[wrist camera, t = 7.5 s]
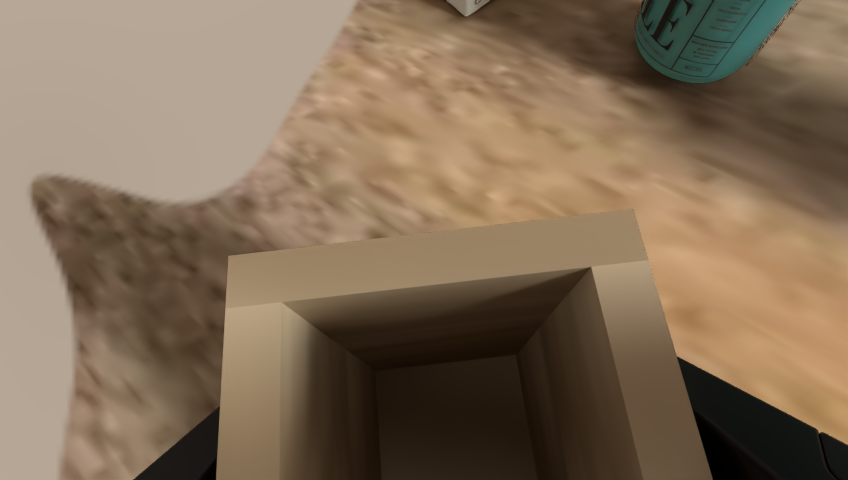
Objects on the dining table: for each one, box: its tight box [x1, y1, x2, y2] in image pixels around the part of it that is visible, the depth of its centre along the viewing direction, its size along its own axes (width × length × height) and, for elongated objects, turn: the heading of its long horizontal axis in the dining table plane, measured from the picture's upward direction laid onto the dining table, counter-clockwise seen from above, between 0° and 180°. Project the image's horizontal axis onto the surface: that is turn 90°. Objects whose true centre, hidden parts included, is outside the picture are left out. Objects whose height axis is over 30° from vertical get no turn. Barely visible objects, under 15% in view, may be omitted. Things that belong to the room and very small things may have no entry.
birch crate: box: [216, 209, 713, 480], centre depth 10 cm, size 6×6×10 cm
